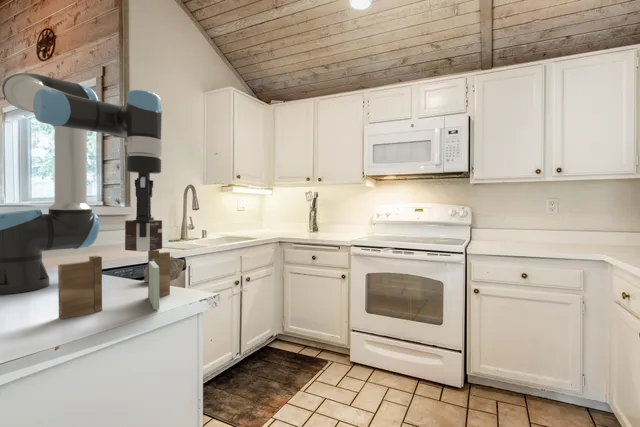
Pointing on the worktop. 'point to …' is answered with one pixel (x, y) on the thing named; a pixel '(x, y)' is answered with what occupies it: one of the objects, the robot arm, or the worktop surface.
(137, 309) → the worktop surface
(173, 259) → the rock
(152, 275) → the door
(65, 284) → the partition
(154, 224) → the box
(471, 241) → the worktop surface
